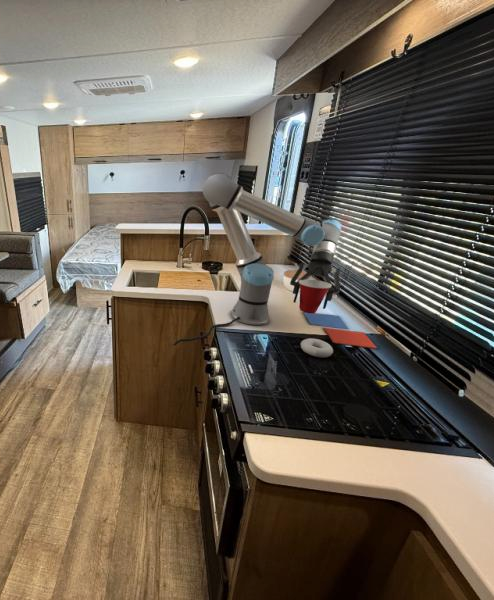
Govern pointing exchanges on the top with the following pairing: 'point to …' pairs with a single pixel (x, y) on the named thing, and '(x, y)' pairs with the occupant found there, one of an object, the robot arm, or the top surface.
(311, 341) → the donut
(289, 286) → the white bowl with cork
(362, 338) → the red mat
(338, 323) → the blue mat
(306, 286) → the plastic cup
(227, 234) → the robot arm
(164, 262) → the top surface
